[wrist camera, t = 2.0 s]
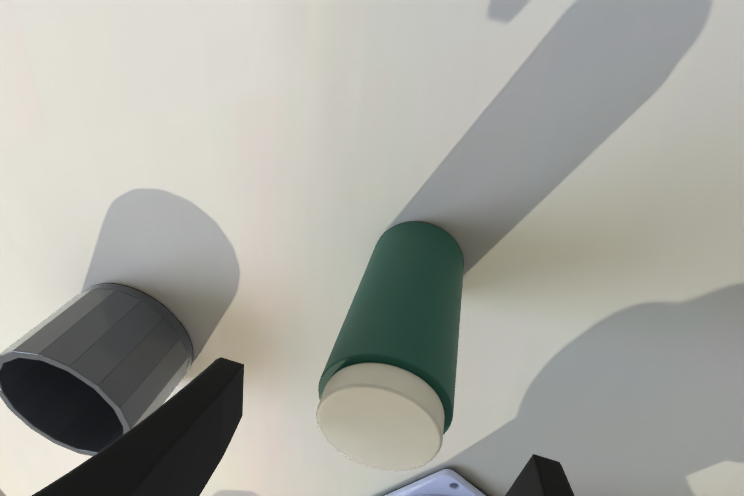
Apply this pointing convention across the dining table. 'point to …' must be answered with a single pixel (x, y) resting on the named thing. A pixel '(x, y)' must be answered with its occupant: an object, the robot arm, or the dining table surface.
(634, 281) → the dining table surface
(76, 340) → the cup
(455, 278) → the cylinder
